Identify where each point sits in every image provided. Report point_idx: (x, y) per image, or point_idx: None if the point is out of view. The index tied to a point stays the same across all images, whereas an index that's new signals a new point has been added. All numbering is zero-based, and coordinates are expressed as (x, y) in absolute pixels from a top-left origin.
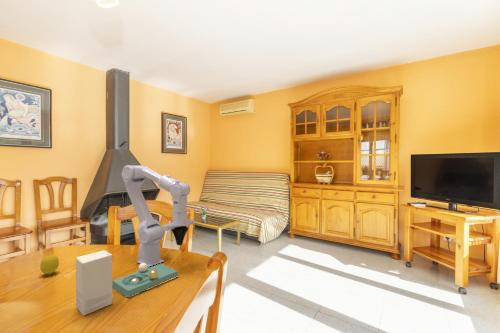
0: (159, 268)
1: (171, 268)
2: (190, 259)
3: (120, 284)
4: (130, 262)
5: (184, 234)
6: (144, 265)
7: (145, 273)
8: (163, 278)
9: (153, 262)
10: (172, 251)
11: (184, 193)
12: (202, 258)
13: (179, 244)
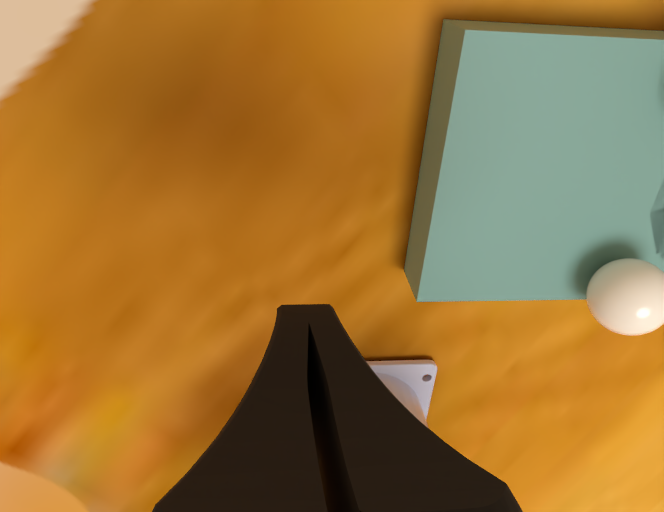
0: (503, 227)
1: (449, 141)
2: (76, 261)
3: None
4: None
5: (257, 420)
6: (658, 287)
7: (633, 230)
8: (629, 34)
9: (386, 383)
10: (109, 477)
11: None
12: None
13: (335, 314)
